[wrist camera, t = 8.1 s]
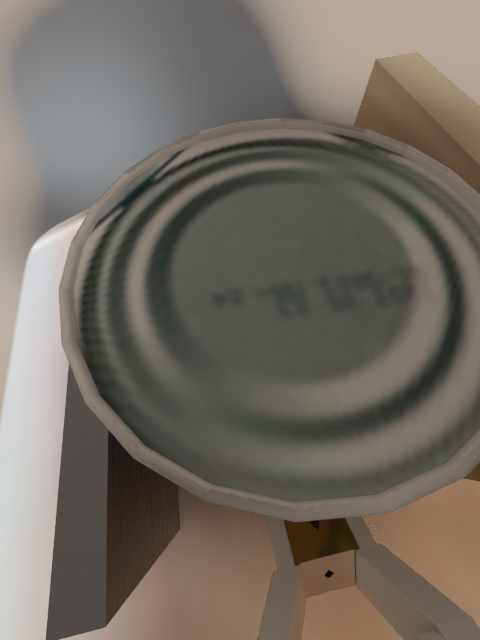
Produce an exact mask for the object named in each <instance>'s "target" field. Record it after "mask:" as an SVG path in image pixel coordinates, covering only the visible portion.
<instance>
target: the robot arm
mask: <svg viewBox="0 0 480 640" xmlns="http://www.w3.org/2000/svg"><path fill="white" fill-rule="evenodd" d="M267 519H268V524H269V529H270V534H271V539H272V544H273V549H274V554H275V559H276V563H277V568H278V570H276V571H274V572H273V576H272V580H271V584H270V588H269V592H268V596H267V600H266V605H265V609H264V613H263V617H262V621H261V625H260V629H259V633H258V638H257V640H301V638H302V630H303V621H304V613H305V604H306V598H308V597H311V596H314V595H318V594H321V593H324V592H328V591H331V590H335V589H340V588H344V587H349V586H353V585H357V588H358V589H359V590H360V591H361V592H362V593H363V594H364V595H365V597H366V598H367V599H368V600H369V601H370V602H371V603H372V604H373V606H374V607H375V608H376V609H377V610H378V611H379V612H380V613H381V614H382V616H383V617H384V618H385V619H386V620H387V621H388V622H389V623H390V625H391V626H392V627H393V628H394V629H395V630H396V631H397V632H398V633H399V635H400V636H401V637H402V638H403V639H404V640H480V629H479V627H478V626H477V624H476V623H475V621H474V620H473V618H472V617H470V616H469V615H468V614H467V613H465V612H464V611H463V610H462V609H461V608H459V607H458V606H457V605H456V604H454V603H453V602H452V601H451V600H449V599H448V598H447V597H446V596H445V595H443V594H442V593H441V592H440V591H438V590H437V589H436V588H435V587H434V586H432V585H431V584H430V583H429V582H427V581H426V580H425V579H424V578H423V577H421V576H420V575H419V574H418V573H416V572H415V571H414V570H413V569H411V568H410V567H409V566H408V565H407V564H405V563H404V562H403V561H402V560H400V559H399V558H398V557H397V556H396V555H394V554H393V553H392V552H391V551H389V550H388V549H387V548H386V547H384V546H383V545H382V544H376V542H375V541H374V539H373V537H372V535H371V533H370V531H369V529H368V528H367V526H366V524H365V522H364V520H363V518H362V517H361V516H356V517H346V518H335V519H325V520H314V521H303V522H292V521H288V520H284V519H279V518H275V517H270V516H267Z"/></svg>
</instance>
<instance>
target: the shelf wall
mask: <svg viewBox="0 0 480 640" xmlns="http://www.w3.org/2000/svg"><path fill="white" fill-rule="evenodd" d="M354 127H358V128H363V129H367V130H370V131H373V132H375V133H378V134H381V135H383V136H386V137H389V138H391V139H394V140H397V141H399V142H402V143H405V144H407V145H410V146H412V147H413V148H415V149H417V150H419V151H420V152H422V153H424V154H425V155H427V156H429V157H431V158H432V159H434V160H436V161H437V162H439V163H441V164H443V165H444V166H446V167H448V168H449V169H451V170H452V171H454V172H455V173H456V174H457V175H458V176H459V177H460V178H462V179H463V180H464V181H465V182H466V183H467V184H468V185H469V186H471V187H472V188H473V189H474V190H475V191H476V192H477V193H479V194H480V106H479V105H478V104H476V103H475V102H474V101H473V100H472V99H471V98H469V97H468V96H467V95H466V94H465V93H464V92H462V91H461V90H460V89H459V88H458V87H457V86H455V85H454V84H453V83H452V82H451V81H450V80H448V79H447V78H446V77H445V76H444V75H443V74H441V73H440V72H439V71H438V70H437V69H436V68H435V67H433V66H432V65H431V64H430V63H429V62H428V61H426V60H425V59H424V58H423V57H422V56H421V55H419V54H418V53H414V54H407V55H401V56H395V57H388V58H381V59H376V60H375V64H374V67H373V70H372V73H371V76H370V79H369V82H368V85H367V88H366V91H365V94H364V97H363V100H362V103H361V106H360V109H359V112H358V115H357V118H356V121H355V124H354ZM465 479H470V480H475V481H480V462H479V463H478V464H477V465H476V466H475V467H474V469H473V470H472V471H471V472H470V473H469V474H468V475H467V476H466V477H465Z"/></svg>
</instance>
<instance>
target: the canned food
mask: <svg viewBox="0 0 480 640" xmlns="http://www.w3.org/2000/svg"><path fill="white" fill-rule="evenodd" d="M59 303H60V321H61V340H62V346H63V349H64V351H65V354H66V356H67V359H68V361H69V364H70V366H71V369H72V371H73V374H74V376H75V379H76V381H77V384H78V386H79V389H80V391H81V394H82V396H83V398H84V401H85V403H86V404H87V405H88V407H89V408H90V409H91V410H92V411H93V412H94V413H95V415H96V416H97V417H98V418H99V419H100V420H101V422H102V423H103V424H104V425H105V426H106V427H107V429H108V430H109V431H110V432H111V433H112V434H113V435H114V437H115V438H116V439H117V440H118V441H119V442H120V444H121V445H122V446H123V447H124V448H125V449H126V451H127V452H128V453H129V454H130V455H131V456H132V457H133V458H134V459H135V460H137V461H139V462H140V463H142V464H144V465H145V466H147V467H149V468H150V469H152V470H154V471H155V472H157V473H159V474H160V475H162V476H164V477H165V478H167V479H169V480H170V481H172V482H174V483H175V484H177V485H179V486H180V487H182V488H184V489H185V490H187V491H189V492H190V493H192V494H194V495H195V496H197V497H199V498H200V499H202V500H204V501H205V502H209V503H214V504H218V505H223V506H227V507H231V508H236V509H240V510H244V511H249V512H253V513H257V514H262V515H266V516H270V517H275V518H279V519H284V520H288V521H292V522H303V521H314V520H325V519H335V518H346V517H356V516H367V515H378V514H388V513H390V512H392V511H394V510H396V509H398V508H401V507H403V506H405V505H407V504H409V503H411V502H413V501H416V500H418V499H420V498H422V497H424V496H426V495H428V494H430V493H433V492H435V491H437V490H439V489H441V488H443V487H445V486H448V485H450V484H452V483H454V482H456V481H458V480H460V479H463V478H465V477H466V476H467V475H468V474H469V473H470V472H471V471H472V470H473V469H474V467H475V466H476V465H477V464H478V463H479V462H480V194H479V193H477V192H476V191H475V190H474V189H473V188H472V187H471V186H469V185H468V184H467V183H466V182H465V181H464V180H463V179H462V178H460V177H459V176H458V175H457V174H456V173H455V172H454V171H452V170H451V169H449V168H448V167H446V166H444V165H443V164H441V163H439V162H437V161H436V160H434V159H432V158H431V157H429V156H427V155H425V154H424V153H422V152H420V151H419V150H417V149H415V148H413V147H412V146H410V145H407V144H405V143H402V142H399V141H397V140H394V139H391V138H389V137H386V136H383V135H381V134H378V133H375V132H373V131H370V130H367V129H363V128H358V127H353V126H349V125H343V124H339V123H334V122H329V121H324V120H310V119H292V118H273V119H262V120H252V121H241V122H235V123H231V124H227V125H223V126H219V127H215V128H211V129H207V130H203V131H199V132H197V133H194V134H192V135H189V136H187V137H185V138H183V139H181V140H178V141H176V142H173V143H171V144H169V145H166V146H164V147H162V148H160V149H158V150H157V151H155V152H154V153H152V154H151V155H149V156H148V157H146V158H145V159H143V160H142V161H140V162H139V163H137V164H136V165H134V166H133V167H131V168H130V169H128V170H127V171H125V172H124V173H123V174H122V175H121V176H120V177H119V178H118V179H117V180H116V181H115V182H114V183H113V184H112V186H111V187H109V188H108V189H107V190H106V192H105V193H104V194H103V195H102V196H101V197H100V198H99V199H98V200H97V201H96V202H95V203H94V204H93V206H92V208H91V209H90V211H89V213H88V214H87V216H86V218H85V219H84V221H83V223H82V225H81V226H80V228H79V230H78V231H77V233H76V235H75V236H74V238H73V240H72V242H71V245H70V248H69V252H68V256H67V260H66V264H65V267H64V271H63V275H62V279H61V283H60V286H59Z"/></svg>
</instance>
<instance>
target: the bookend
mask: <svg viewBox="0 0 480 640" xmlns="http://www.w3.org/2000/svg"><path fill="white" fill-rule="evenodd" d="M179 530H180V523H179V512H178V500H177V488H176V484H175V483H174V482H172V481H170V480H169V479H167V478H165V477H164V476H162V475H160V474H159V473H157V472H155V471H154V470H152V469H150V468H149V467H147V466H145V465H144V464H142V463H140V462H139V461H137V460H135V459H134V458H133V457H132V456H131V455H130V454H129V453H128V452H127V451H126V449H125V448H124V447H123V446H122V445H121V444H120V442H119V441H118V440H117V439H116V438H115V437H114V435H113V434H112V433H111V432H110V431H109V430H108V429H107V427H106V426H105V425H104V424H103V423H102V422H101V420H100V419H99V418H98V417H97V416H96V415H95V413H94V412H93V411H92V410H91V409H90V408H89V407H88V405H87V404H86V403H85V401H84V398H83V396H82V394H81V391H80V389H79V386H78V384H77V381H76V379H75V376H74V374H73V371H72V369H71V366H70V364H69V371H68V383H67V395H66V407H65V419H64V431H63V443H62V454H61V466H60V478H59V490H58V502H57V514H56V526H55V537H54V549H53V561H52V573H51V585H50V597H49V609H48V620H47V632H46V640H59V639H63V638H67V637H70V636H74V635H78V634H82V633H85V632H89V631H93V630H97V629H100V628H104V627H106V626H107V624H108V623H109V622H110V620H111V619H112V618H113V617H114V615H115V614H116V613H117V611H118V610H119V609H120V607H121V606H122V605H123V603H124V602H125V601H126V599H127V598H128V597H129V596H130V594H131V593H132V592H133V590H134V589H135V588H136V586H137V585H138V584H139V582H140V581H141V580H142V579H143V577H144V576H145V575H146V573H147V572H148V571H149V569H150V568H151V567H152V565H153V564H154V563H155V561H156V560H157V559H158V558H159V556H160V555H161V554H162V552H163V551H164V550H165V548H166V547H167V546H168V544H169V543H170V542H171V541H172V539H173V538H174V537H175V535H176V534H177V533H178V531H179Z"/></svg>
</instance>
